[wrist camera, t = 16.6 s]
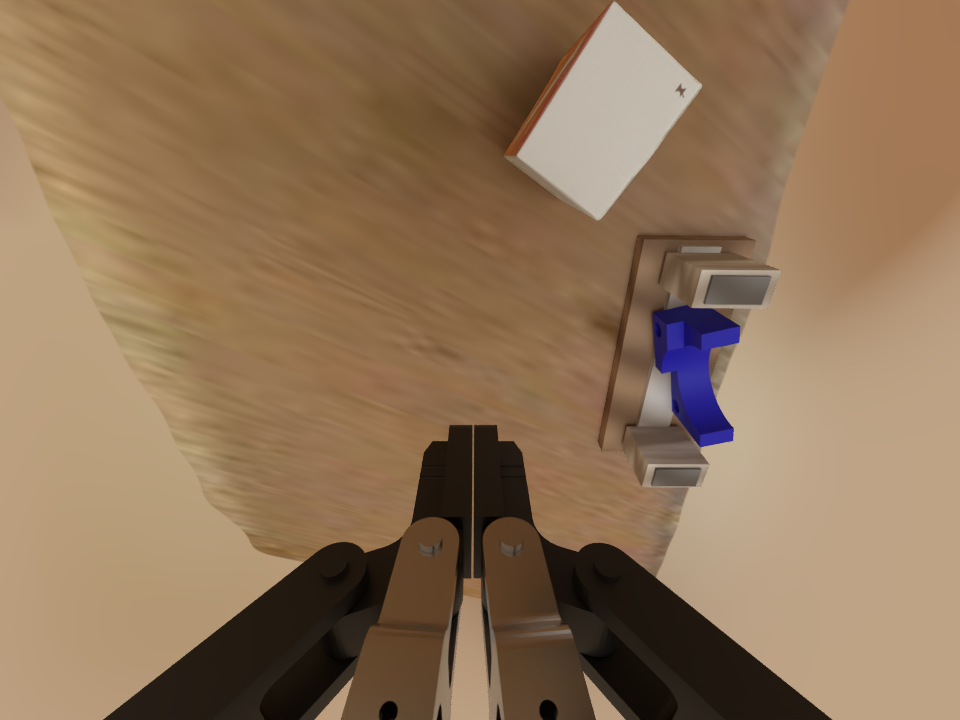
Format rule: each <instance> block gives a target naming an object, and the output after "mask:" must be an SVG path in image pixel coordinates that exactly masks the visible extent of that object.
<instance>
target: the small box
mask: <svg viewBox="0 0 960 720" xmlns="http://www.w3.org/2000/svg"><path fill="white" fill-rule="evenodd" d="M701 88H702V84H701V83H700V82H699V81H697V80H696V79H695V78H694V77H693V76H692V75H691V74H690V73H689V72H688V71H687V70H686V69H684V68H683V67H682V66H681V65H680V64H679V63H678V62H677V61H676V60H675V59H674V58H673V57H672V56H671V55H670V54H669V53H668V52H667V51H666V50H665V49H664V48H663V47H662V46H661V45H660V44H659V43H658V42H656V41H655V40H654V39H653V38H652V37H651V36H650V35H649V34H648V33H647V32H646V31H645V30H644V29H643V28H642V27H641V26H640V25H639V24H638V23H637V22H636V21H635V20H634V19H633V18H632V17H631V16H630V15H629V14H627V13H626V12H625V11H624V10H623V9H622V8H621V7H620V6H619V5H618V4H617V3H616V2H615V1H612V2H611V3H610V4H609V5H608V7H607V8H606V9H605V10H604V11H603V13H602V14H601V15H600V16H599V17H598V18H597V20H596V21H595V22H594V23H593V24H592V25H591V26H590V27H589V29H588V30H587V31H586V32H585V33H584V34H583V35H582V36H581V38H580V39H579V40H578V41H577V42H576V44H575V45H574V46H573V47H572V48H571V49H570V50H569V51H568V52H567V53H566V54H565V56H564V57H563V58H562V59H561V61H560V62H559V64H558V66H557V68H556V70H555V72H554V73H553V75H552V77H551V79H550V80H549V82H548V84H547V85H546V87H545V89H544V90H543V92H542V94H541V95H540V97H539V99H538V100H537V102H536V104H535V105H534V107H533V109H532V110H531V112H530V113H529V115H528V117H527V118H526V120H525V122H524V123H523V125H522V126H521V128H520V130H519V131H518V133H517V135H516V136H515V138H514V139H513V141H512V142H511V144H510V146H509V147H508V149H507V150H506V152H505V153H504V157H505V158H506V159H507V160H508V161H510V162H511V163H512V164H514V165H515V166H516V167H518V168H519V169H520V170H521V171H523V172H524V173H525V174H527V175H528V176H529V177H530V178H532V179H533V180H534V181H536V182H537V183H538V184H540V185H541V186H542V187H543V188H545V189H546V190H547V191H549V192H550V193H551V194H553V195H554V196H555V197H557V198H558V199H559V200H561V201H563V202H564V203H566V204H568V205H570V206H572V207H574V208H575V209H577V210H579V211H581V212H583V213H585V214H586V215H588V216H590V217H592V218H593V219H595V220H596V221H598V220H600V219H601V218H602V217H603V216H604V215H605V214H606V212H607V211H608V210H609V209H610V207H611V206H612V205H613V204H614V202H615V201H616V200H617V199H618V197H619V196H620V195H621V193H622V192H623V191H624V190H625V188H626V187H627V186H628V184H629V183H630V182H631V181H632V179H633V178H634V177H635V176H636V174H637V173H638V172H639V171H640V170H641V168H642V167H643V166H644V165H645V164H646V162H647V161H648V160H649V159H650V157H651V156H652V155H653V153H654V152H655V151H656V149H657V148H658V147H659V145H660V144H661V143H662V141H663V139H664V138H665V136H666V135H667V133H668V132H669V131H670V129H671V128H672V127H673V125H674V124H675V123H676V121H677V120H678V119H679V117H680V116H681V115H682V113H683V112H684V111H685V109H686V108H687V107H688V105H689V104H690V103H691V101H692V100H693V99H694V97H695V96H696V95H697V93H698V92H699V91H700V89H701Z"/></svg>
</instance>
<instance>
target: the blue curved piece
mask: <svg viewBox="0 0 960 720" xmlns="http://www.w3.org/2000/svg"><path fill="white" fill-rule="evenodd" d="M653 326H654V347H655V367H656V368H657V369H658V370H659V371H660V372H661V374H663V373H668V372H671V397H672V412H673V413H674V414H675V415H676V417H677V418H678V419H679V421H680V422H681V423H682V424H683V426H684V427H685V428H686V430H687V431H688V432H689V433H690V435H691V436H692V437H693V439H694V440H695V441H696V442H697V444H698V445H699V446H700V447H704V446H709V445H714V444H719V443H724V442H730V441H733V432H734V429H733V427H732V426H731V425H730V423H729V422H728V421H727V419H726V418H725V416H724V415H723V413H722V411H721V410H720V408H719V405H718V404H717V401H716V398H715V396H714V393H713V389H712V386H711V381H710V375H709V356H710V352H711V349H712V348H717V347H722V346H726V345H731V344H735V343H739V337H740V326H739V325H738V324H736V323H734V322H733V321H731V320H730V319H728V318H727V317H725V316H723V315H722V314H720V313H719V312H717V311H716V310H714V309H712V308H691V307H689V306H688V305H685V306H680V307H676V308H672V309H667V310H663V311H658V312H654V313H653Z"/></svg>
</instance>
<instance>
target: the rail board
mask: <svg viewBox="0 0 960 720" xmlns="http://www.w3.org/2000/svg"><path fill="white" fill-rule="evenodd" d="M755 242H756V240H753V239H750V238H746V237H672V236H638V238H637V243H636V248H635V254H634V259H633V264H632V269H631V274H630V280H629V285H628V290H627V295H626V300H625V306H624V311H623V316H622V321H621V326H620V331H619V337H618V342H617V347H616V352H615V357H614V363H613V368H612V373H611V378H610V383H609V389H608V394H607V399H606V404H605V409H604V415H603V420H602V425H601V430H600V435H599V441H598V443H599V446H600V448H601V450H602V451H624V453H625V455H626V457H627V459H628V460H629V462H630V464H631V466H632V468H633V470H634V472H635V474H636V476H637V478H638V480H639V482H640V484H641V486H642V487H701V486H702V483H703V480H704V477H705V475H706V472H707V470H708V467H709V463H708V462H707V461H706V459H705V458H704V457H703V455H702V454H701V453H700V451H699V450H698V449H697V447H696V446H695V445H694V443H693V442H692V441H691V440H690V439H691V435H690V433H689V432H688V431H687V430H686V428H685V427H684V426H683V424H682V423H681V422H680V421H679V419H678V418H677V417H676V415H675V414H674V413H673V412H672V397H671V372H668V373H663V374H661V372H660V371H659V370H658V369H657V368H656V367H655V347H654V326H653V313H654V312H658V311H663V310H667V309H672V308H676V307H680V306H685V305H688V306H689V307H691V308H712V309H714V310H716V311H717V312H719V313H720V314H722V315H723V316H725V317H727V318H728V319H730V318H731V315H732V312H733V309H734V308H762V309H766V308H768V305H769V303H770V300H771V297H772V295H773V292H774V289H775V287H776V284H777V281H778V278H779V276H780V273H781V270H779V269H776V268H773V267H770V266H768V265H765V264H763V263H760V262H757V261H754V260H752V259H750V257H751V254H752V251H753V248H754V245H755ZM720 348H721V347H717V348H712V349H711V352H710V356H709V375H710V379H711V376H712V373H713V370H714V367H715V364H716V361H717V358H718V355H719V351H720Z"/></svg>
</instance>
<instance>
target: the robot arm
mask: <svg viewBox="0 0 960 720" xmlns="http://www.w3.org/2000/svg"><path fill="white" fill-rule="evenodd" d="M471 539H472V425H450V427H449V437H448V441H433V442H432V443H431V444H430V445H429V447H428V448H427V449H426V451H425V452H424V456H423V461H422V468H421V473H420V479H419V484H418V490H417V496H416V502H415V507H414V513H413V519H412V523H411V525H410V526H409V527H408V529H407V530H406V531H405V533H404V534H403V536H402V537H401V538H400V539H399V540H397V541H396V542H394V543H392V544H391V545H388V546H386V547H383V548H380V549H376V550H373V551H370V552H366V553H364V551H363V550H362V549H361V548H360V547H359V546H357V545H355V544H353V543H349V542H339V543H334V544H331V545H328V546H326V547H324V548H322V549H321V550H319V551H318V552H316V553H315V554H314V555H313V556H311V557H310V558H309V559H307V560H306V561H305V562H304V563H302V564H301V565H300V566H298V567H297V568H296V569H295V570H293V571H292V572H291V573H290V574H288V575H287V576H286V577H284V578H283V579H282V580H281V581H279V582H278V583H277V584H276V585H274V586H273V587H272V588H270V589H269V590H268V591H267V592H265V593H264V594H263V595H262V596H260V597H259V598H258V599H257V600H255V601H254V602H253V603H251V604H250V605H249V606H248V607H246V608H245V609H244V610H242V611H241V612H240V613H239V614H237V615H236V616H235V617H233V618H232V619H231V620H230V621H228V622H227V623H226V624H225V625H223V626H222V627H221V628H219V629H218V630H217V631H216V632H214V633H213V634H212V635H211V636H209V637H208V638H207V639H205V640H204V641H203V642H202V643H200V644H199V645H198V646H197V647H195V648H194V649H193V650H191V651H190V652H189V653H188V654H186V655H185V656H184V657H183V658H181V659H180V660H179V661H177V662H176V663H175V664H174V665H172V666H171V667H170V668H168V669H167V670H166V671H165V672H163V673H162V674H161V675H160V676H158V677H157V678H156V679H154V680H153V681H152V682H151V683H149V684H148V685H147V686H145V687H144V688H143V689H142V690H140V691H139V692H138V693H137V694H135V695H134V696H133V697H131V698H130V699H129V700H128V701H127V702H125V703H124V704H123V705H121V706H120V707H119V708H117V709H116V710H115V711H114V712H112V713H111V714H110V715H109V716H107V717H106V718H105V719H103V720H314V719H315V718H316V717H317V716H318V715H319V714H320V713H321V712H322V710H323V709H324V708H325V707H326V706H327V705H328V704H329V702H330V701H331V700H332V699H333V698H334V697H335V696H336V695H337V694H338V693H339V692H340V690H341V689H342V688H343V687H344V686H345V685H346V684H347V683H348V681H349V680H350V679H351V678H352V677H353V676H354V677H353V680H352V684H351V687H350V690H349V694H348V697H347V701H346V704H345V707H344V710H343V714H342V717H341V720H450V716H451V715H450V714H451V698H452V686H453V677H454V667H455V658H456V649H457V639H458V630H459V621H460V610H461V604H462V601H463V578H471ZM474 578H481V614H482V626H483V638H484V650H485V661H486V672H487V684H488V697H489V720H596V718H595V715H594V711H593V707H592V704H591V700H590V697H589V693H588V689H587V685H586V682H585V678H584V674H583V671H584V673H585V674H586V675H587V676H588V677H589V678H590V680H591V681H592V682H593V683H594V684H595V685H596V686H597V687H598V689H599V690H600V691H601V692H602V693H603V694H604V696H605V697H606V698H607V699H608V700H609V701H610V702H611V704H612V705H613V706H614V707H615V708H616V709H617V710H618V711H619V713H620V714H621V715H622V716H623V717H624V718H625V719H626V720H832V719H831V718H829V717H828V716H827V715H826V714H824V713H823V712H822V711H821V710H819V709H818V708H817V707H816V706H814V705H813V704H812V703H811V702H809V701H808V700H807V699H806V698H805V697H803V696H802V695H801V694H799V693H798V692H797V691H796V690H795V689H793V688H792V687H791V686H790V685H788V684H787V683H786V682H784V681H783V680H782V679H781V678H780V677H778V676H777V675H776V674H775V673H773V672H772V671H771V670H770V669H768V668H767V667H766V666H765V665H763V664H762V663H761V662H760V661H758V660H757V659H756V658H755V657H754V656H752V655H751V654H750V653H748V652H747V651H746V650H745V649H744V648H742V647H741V646H740V645H738V644H737V643H736V642H735V641H734V640H732V639H731V638H730V637H729V636H727V635H726V634H725V633H724V632H722V631H721V630H720V629H718V628H717V627H716V626H715V625H714V624H712V623H711V622H710V621H709V620H707V619H706V618H705V617H704V616H703V615H701V614H700V613H699V612H697V611H696V610H695V609H694V608H693V607H691V606H690V605H689V604H688V603H686V602H685V601H684V600H683V599H681V598H680V597H678V595H676V594H675V593H674V592H673V591H671V590H670V589H669V588H668V587H666V586H665V585H664V584H663V583H661V582H660V581H659V580H658V579H657V578H655V577H654V576H653V575H652V574H650V573H649V572H648V571H647V570H645V569H644V568H643V567H642V566H640V565H639V564H638V563H637V562H635V561H634V560H633V559H632V558H630V557H629V556H628V555H627V554H625V553H624V552H623V551H621V550H620V549H618V548H616V547H614V546H612V545H609V544H605V543H592V544H589V545H586V546H584V547H583V548H582V549H581V550H580V551H579V552H576V551H573V550H569V549H566V548H563V547H560V546H557V545H555V544H553V543H551V542H549V541H548V540H546V539H545V538H544V537H543V536H542V535H541V534H540V533H539V532H538V531H537V529H536V527H535V525H534V523H533V519H532V513H531V506H530V500H529V494H528V487H527V481H526V475H525V468H524V462H523V456H522V452H521V451H520V449H519V448H518V447H517V445H516V444H515V443H514V441H498V432H497V425H474Z"/></svg>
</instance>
